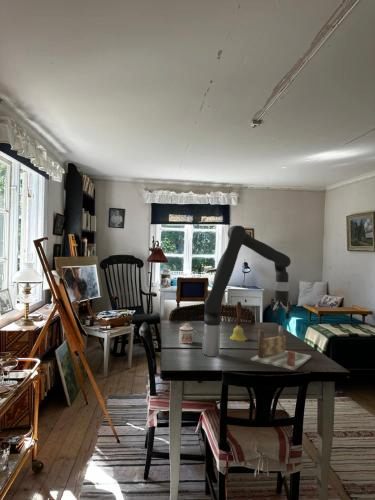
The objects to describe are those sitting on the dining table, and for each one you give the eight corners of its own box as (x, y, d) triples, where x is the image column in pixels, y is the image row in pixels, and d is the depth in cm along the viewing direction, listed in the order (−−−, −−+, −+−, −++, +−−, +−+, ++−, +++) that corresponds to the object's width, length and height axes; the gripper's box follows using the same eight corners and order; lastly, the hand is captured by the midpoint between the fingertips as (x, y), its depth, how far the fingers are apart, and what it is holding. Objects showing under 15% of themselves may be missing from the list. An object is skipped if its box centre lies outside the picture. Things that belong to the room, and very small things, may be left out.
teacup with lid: (180, 344, 216) (181, 326, 216) (177, 340, 225) (177, 322, 225) (199, 344, 219) (199, 325, 219) (195, 340, 228) (195, 322, 228)
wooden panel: (264, 356, 192) (265, 329, 192) (261, 355, 194) (262, 328, 194) (285, 351, 201) (286, 325, 201) (282, 350, 203) (282, 325, 203)
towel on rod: (250, 360, 189) (251, 330, 189) (271, 349, 211) (271, 322, 211) (294, 370, 175) (295, 338, 175) (311, 357, 197) (312, 329, 197)
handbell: (248, 337, 238) (249, 301, 238) (245, 342, 227) (246, 303, 227) (231, 335, 242) (232, 300, 242) (227, 340, 231) (228, 302, 231)
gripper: (268, 288, 204) (267, 316, 204) (287, 291, 193) (286, 320, 193) (276, 288, 209) (276, 315, 209) (296, 290, 197) (295, 319, 197)
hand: (281, 317), depth 201 cm, fingers open, 8 cm apart
